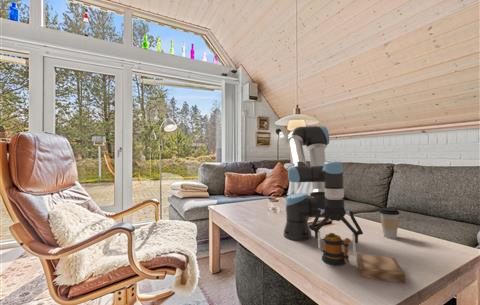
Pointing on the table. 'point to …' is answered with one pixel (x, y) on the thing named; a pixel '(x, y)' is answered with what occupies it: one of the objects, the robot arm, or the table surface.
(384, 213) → the coffee cup
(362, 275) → the base
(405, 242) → the table surface
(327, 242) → the mug
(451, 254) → the table surface
